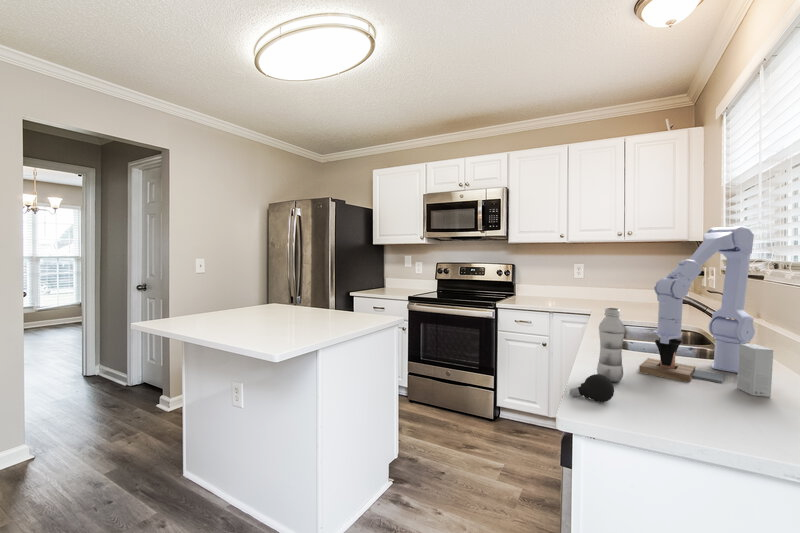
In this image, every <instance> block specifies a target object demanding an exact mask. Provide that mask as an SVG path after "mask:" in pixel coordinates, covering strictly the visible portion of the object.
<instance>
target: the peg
mask: <svg viewBox="0 0 800 533" xmlns="http://www.w3.org/2000/svg"><path fill="white" fill-rule="evenodd" d="M675 354H676V355H677V352H674V355H673V360H672V364H671V366H666V365H662V363H661V358H660V359H659V360H660V367H665V368H670V369H675V363H676V355H675Z"/></svg>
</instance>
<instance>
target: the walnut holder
mask: <svg viewBox="0 0 800 533" xmlns="http://www.w3.org/2000/svg"><path fill="white" fill-rule="evenodd" d="M638 366H639V367H638V373H641V374H645V373H646V374H645V375H651V376H657V377H661V378H666V379H670V380H675V381H682V382H685V383H690V382H691V380H692V375H693V373H694V372H695V369H696V366H695V365H690V364H685V363H678V362H675V369H670V368H665V367H660V359H655V358H652V357H651V358H650V357H648V358H646V359H645V360H644V361H643V362H642V363H640V364H639V365H638Z"/></svg>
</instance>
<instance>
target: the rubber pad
mask: <svg viewBox="0 0 800 533" xmlns="http://www.w3.org/2000/svg"><path fill="white" fill-rule="evenodd" d="M724 376H725V375H724V374H723V373H722V374H721V373H716V372H711V371H706V370H701V369H697V368H695V372H694V373H693V375H692V378H693V379H697V380H703V381H709V382H714V383H720V384H722V383H723V380H724Z"/></svg>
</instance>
